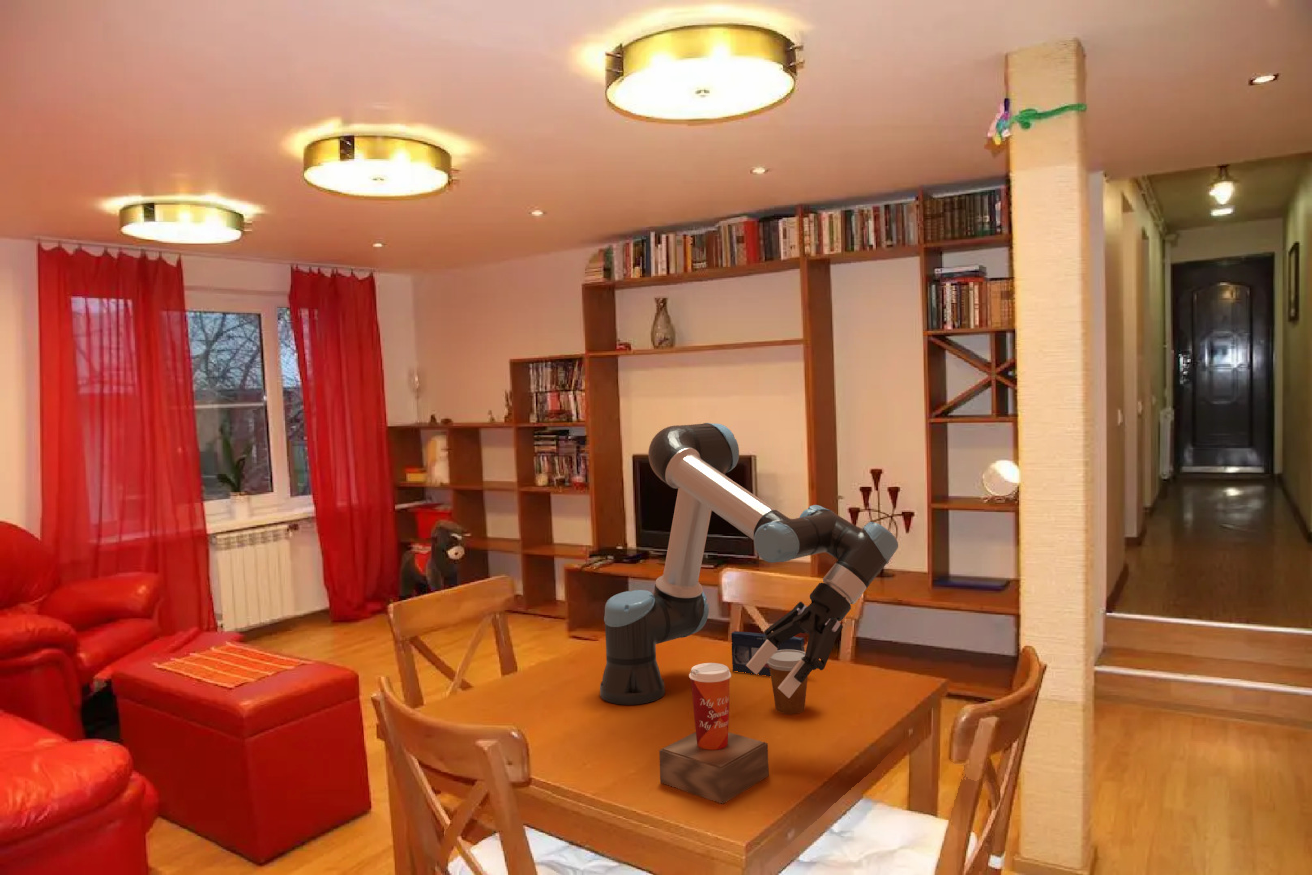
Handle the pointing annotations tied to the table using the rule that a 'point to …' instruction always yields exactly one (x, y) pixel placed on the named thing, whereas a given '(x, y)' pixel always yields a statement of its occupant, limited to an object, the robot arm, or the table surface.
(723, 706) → the paper cup
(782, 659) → the disposable coffee cup
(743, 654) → the vhs cassette tape
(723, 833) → the table surface
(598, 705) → the table surface
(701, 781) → the walnut box
